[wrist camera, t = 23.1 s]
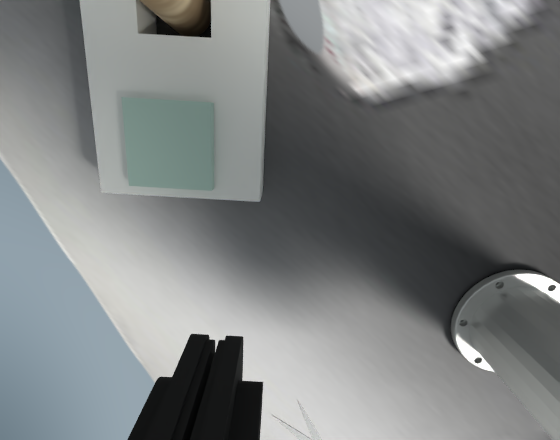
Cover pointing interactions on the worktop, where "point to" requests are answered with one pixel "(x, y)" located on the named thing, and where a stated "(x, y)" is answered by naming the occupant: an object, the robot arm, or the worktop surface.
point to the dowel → (183, 14)
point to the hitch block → (181, 87)
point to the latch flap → (169, 143)
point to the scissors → (312, 429)
